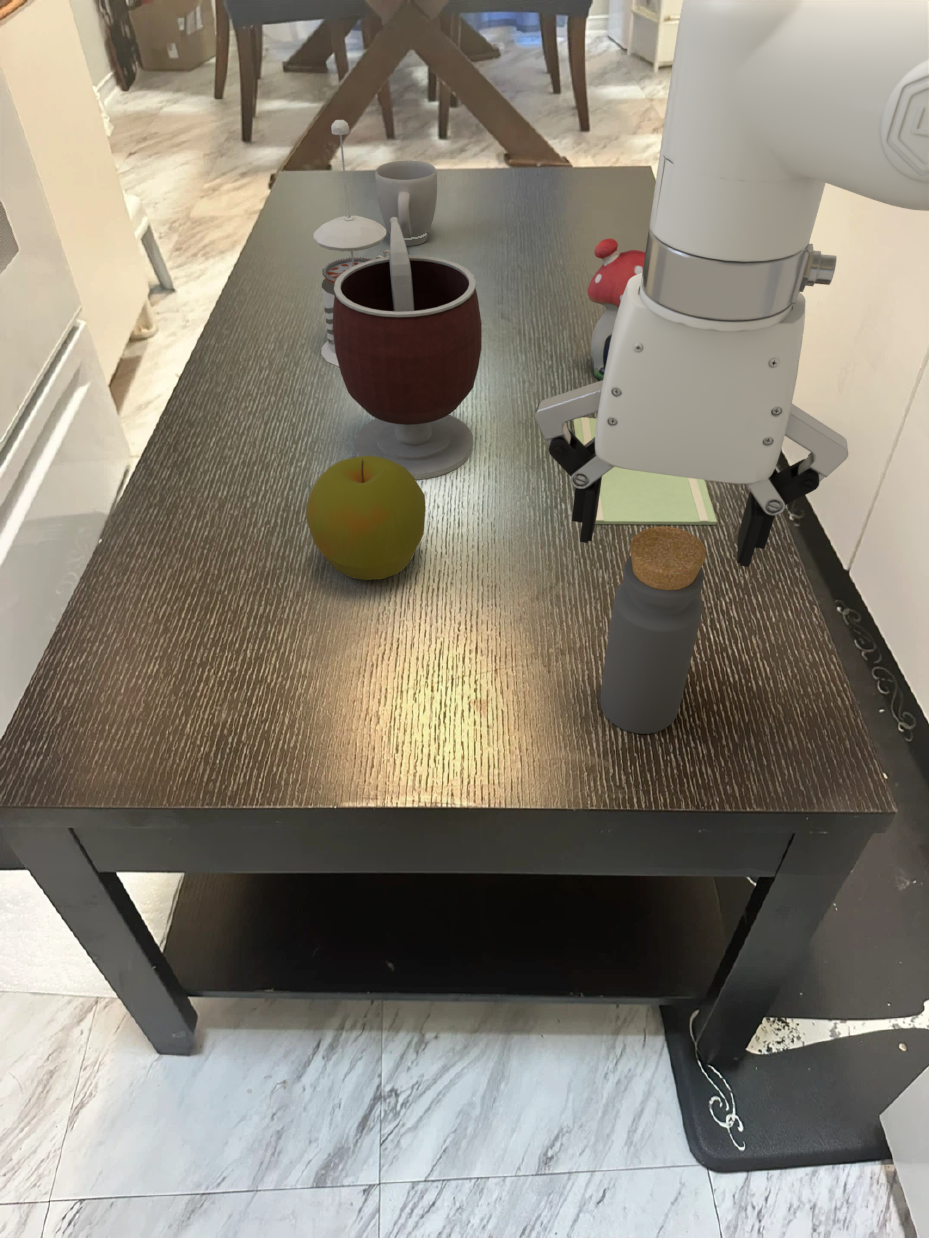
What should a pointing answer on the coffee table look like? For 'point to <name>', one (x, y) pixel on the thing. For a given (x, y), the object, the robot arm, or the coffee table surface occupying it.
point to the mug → (407, 196)
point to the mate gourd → (409, 355)
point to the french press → (343, 249)
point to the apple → (366, 517)
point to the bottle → (653, 630)
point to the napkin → (647, 494)
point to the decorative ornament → (610, 294)
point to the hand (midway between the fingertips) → (664, 540)
